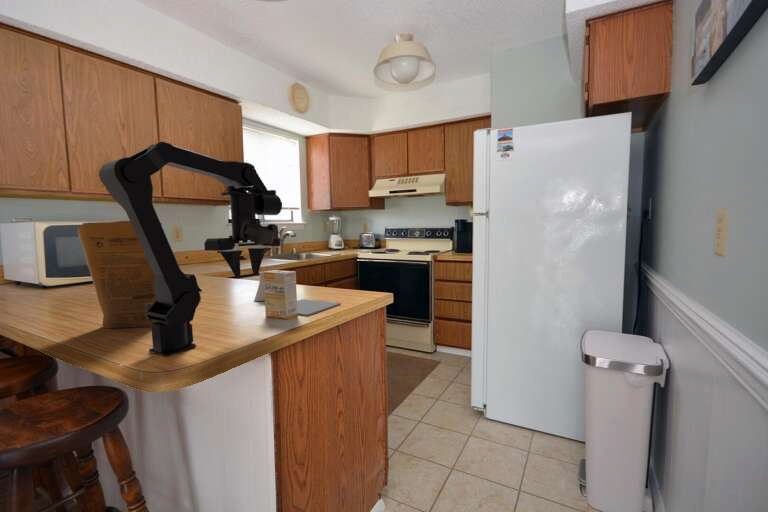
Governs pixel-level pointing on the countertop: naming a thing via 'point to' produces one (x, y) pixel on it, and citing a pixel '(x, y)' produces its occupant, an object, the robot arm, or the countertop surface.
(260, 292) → the flask
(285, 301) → the supplement box
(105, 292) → the pancake mix bag
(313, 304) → the mat
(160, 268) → the robot arm
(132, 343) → the countertop surface
